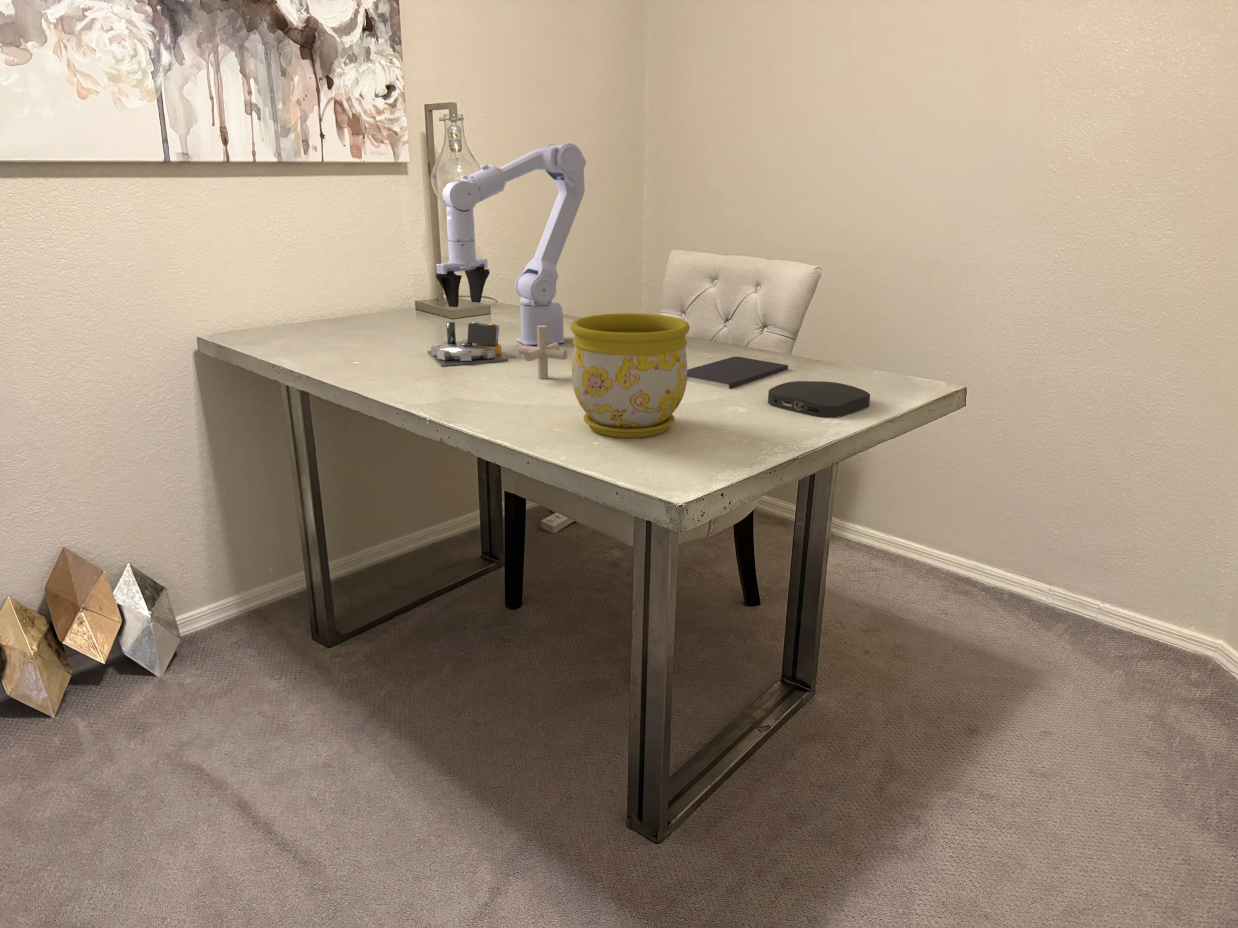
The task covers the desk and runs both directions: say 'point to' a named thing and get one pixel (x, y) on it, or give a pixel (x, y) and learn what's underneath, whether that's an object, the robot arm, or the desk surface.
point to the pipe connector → (542, 352)
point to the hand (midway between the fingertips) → (464, 304)
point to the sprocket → (462, 348)
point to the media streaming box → (818, 398)
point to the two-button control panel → (483, 333)
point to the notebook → (733, 372)
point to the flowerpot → (629, 372)
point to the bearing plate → (458, 361)
